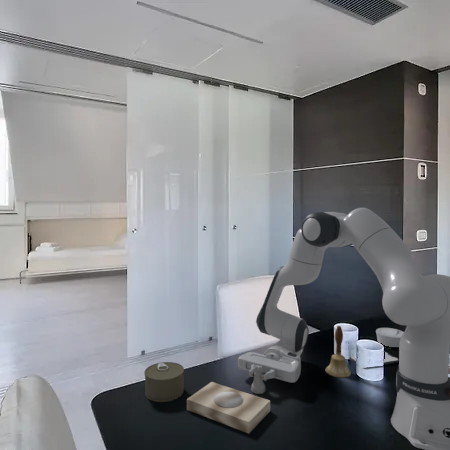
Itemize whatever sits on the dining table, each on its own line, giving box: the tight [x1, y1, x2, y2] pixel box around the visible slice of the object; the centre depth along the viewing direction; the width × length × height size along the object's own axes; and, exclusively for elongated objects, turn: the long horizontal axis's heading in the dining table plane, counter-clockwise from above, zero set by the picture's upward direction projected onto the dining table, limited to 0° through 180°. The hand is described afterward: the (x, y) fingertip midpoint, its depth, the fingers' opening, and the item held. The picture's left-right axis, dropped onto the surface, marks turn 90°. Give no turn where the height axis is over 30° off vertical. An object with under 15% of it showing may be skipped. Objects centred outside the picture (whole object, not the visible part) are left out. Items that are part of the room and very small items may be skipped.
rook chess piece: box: [250, 364, 266, 395], centre depth 112 cm, size 4×4×8 cm
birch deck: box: [186, 381, 271, 435], centre depth 102 cm, size 20×12×3 cm, turn 57°
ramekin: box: [375, 327, 405, 347], centre depth 149 cm, size 11×11×5 cm
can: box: [144, 361, 185, 403], centre depth 112 cm, size 12×12×7 cm
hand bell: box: [325, 325, 352, 378], centre depth 125 cm, size 8×8×16 cm
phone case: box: [349, 351, 399, 364], centre depth 133 cm, size 9×2×16 cm
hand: (256, 376), depth 112 cm, fingers closed on rook chess piece, 3 cm apart
